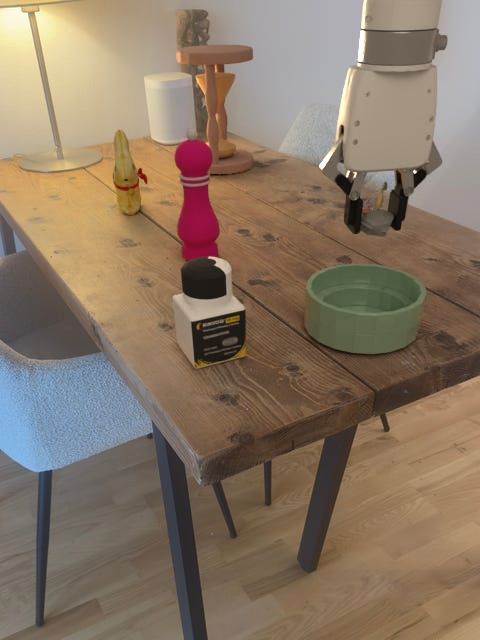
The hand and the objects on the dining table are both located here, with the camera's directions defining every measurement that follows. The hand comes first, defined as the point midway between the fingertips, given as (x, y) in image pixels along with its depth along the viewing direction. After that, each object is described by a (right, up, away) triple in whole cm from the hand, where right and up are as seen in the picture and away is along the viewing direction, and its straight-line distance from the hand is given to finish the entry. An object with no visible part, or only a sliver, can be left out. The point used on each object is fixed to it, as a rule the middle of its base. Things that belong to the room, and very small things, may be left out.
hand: (373, 227), depth 69 cm
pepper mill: (-23, +5, +30) cm, 38 cm away
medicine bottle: (-20, -15, +5) cm, 25 cm away
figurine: (0, -1, +1) cm, 1 cm away
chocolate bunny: (-39, +21, +50) cm, 67 cm away
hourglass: (-22, +42, +75) cm, 88 cm away
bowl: (0, -11, +9) cm, 14 cm away
